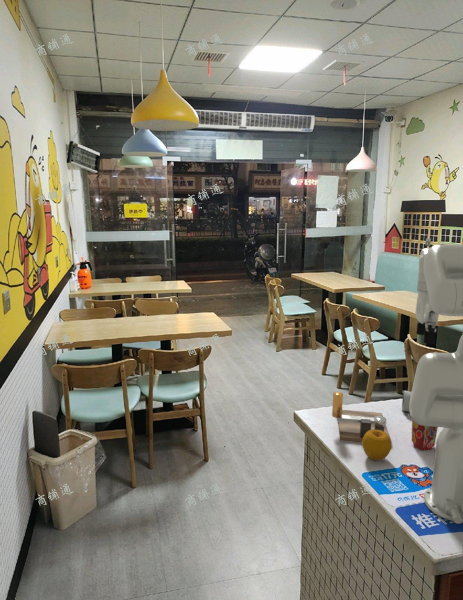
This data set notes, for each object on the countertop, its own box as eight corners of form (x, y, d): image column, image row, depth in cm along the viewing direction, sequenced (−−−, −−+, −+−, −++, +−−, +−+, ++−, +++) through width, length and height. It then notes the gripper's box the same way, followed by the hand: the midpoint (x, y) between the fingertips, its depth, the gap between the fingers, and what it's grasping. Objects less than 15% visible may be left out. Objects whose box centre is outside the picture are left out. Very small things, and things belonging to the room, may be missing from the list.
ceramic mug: (426, 417, 157) (428, 397, 156) (402, 414, 160) (404, 394, 158) (423, 405, 167) (425, 387, 166) (400, 402, 170) (402, 384, 168)
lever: (385, 421, 145) (387, 395, 143) (386, 427, 141) (389, 400, 139) (331, 417, 148) (333, 391, 146) (332, 422, 145) (333, 395, 143)
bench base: (391, 445, 139) (392, 425, 137) (340, 440, 141) (341, 421, 140) (381, 416, 158) (382, 399, 156) (336, 413, 161) (337, 395, 159)
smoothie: (440, 454, 133) (446, 394, 129) (411, 451, 135) (417, 392, 131) (433, 440, 141) (439, 383, 137) (406, 438, 143) (411, 381, 139)
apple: (372, 468, 126) (374, 441, 124) (355, 453, 134) (356, 427, 132) (396, 463, 129) (398, 436, 127) (377, 448, 137) (379, 423, 135)
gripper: (411, 282, 145) (407, 331, 149) (424, 291, 129) (419, 346, 132) (435, 283, 144) (430, 332, 148) (451, 292, 127) (445, 347, 131)
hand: (425, 338), depth 140 cm, fingers open, 9 cm apart
